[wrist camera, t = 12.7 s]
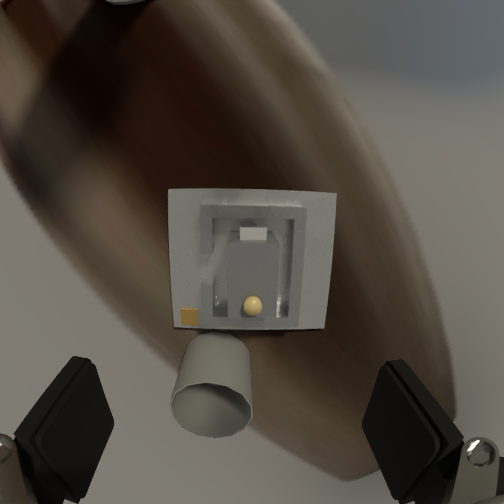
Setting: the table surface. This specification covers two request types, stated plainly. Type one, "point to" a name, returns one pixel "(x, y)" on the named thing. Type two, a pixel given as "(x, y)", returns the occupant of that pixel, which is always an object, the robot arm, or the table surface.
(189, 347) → the cup
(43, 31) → the table surface
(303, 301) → the board
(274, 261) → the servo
